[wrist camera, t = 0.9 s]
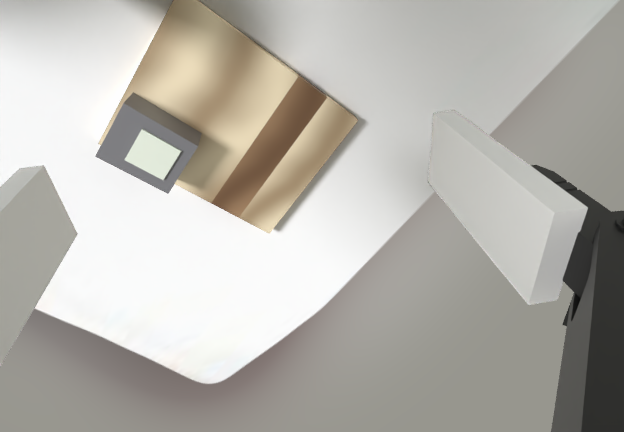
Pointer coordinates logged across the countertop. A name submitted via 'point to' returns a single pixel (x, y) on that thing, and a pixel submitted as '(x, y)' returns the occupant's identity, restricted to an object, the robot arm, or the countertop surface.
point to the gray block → (149, 143)
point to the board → (238, 114)
